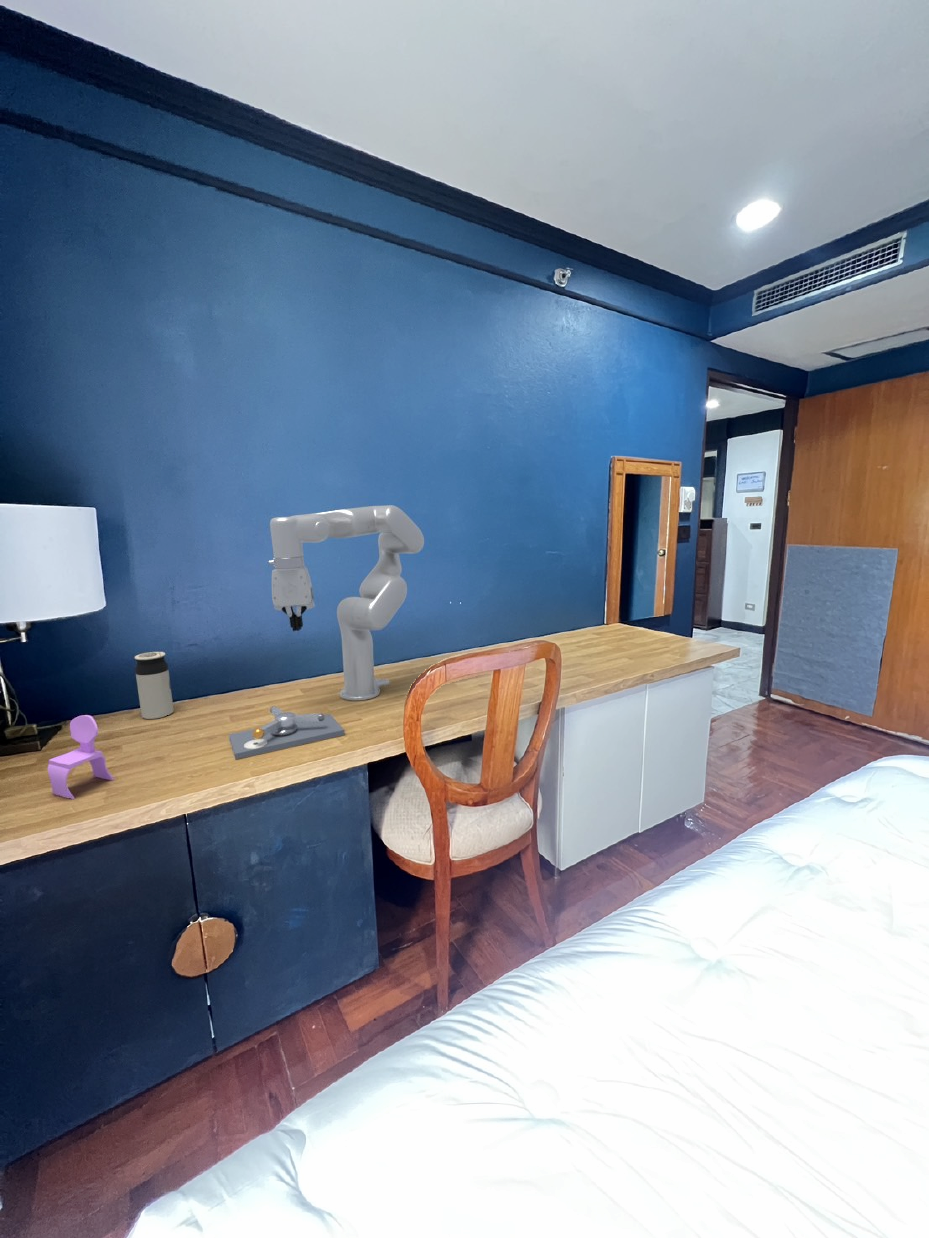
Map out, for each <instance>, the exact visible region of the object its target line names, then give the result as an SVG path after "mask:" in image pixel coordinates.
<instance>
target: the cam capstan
mask: <svg viewBox="0 0 929 1238" xmlns="http://www.w3.org/2000/svg"><path fill="white" fill-rule="evenodd" d="M269 711H270V713H271V715H272V716H274V720H273V721H271V722H269V723H267V724H265V725H263V726H261V727H258V728H254V729H255V730H254V731H253V737H254V738H255V739H261V738H262V737H263V736H265V735H267V734H269V733H270V732H271V734H272V735H275V736H285V735H289V734H292V733H294V732H296V731H297V725H296V723H305V722H319V721H323V720H324V719H325V716H324V715H325V714H324V713H322V712H321V713H308V714H307V713H306V714H296V713H295V712H292V711H288V712H287V711H285V712H284V711H283V709H280V707H278V706H275V705H273V706H272V707H270V710H269Z"/></svg>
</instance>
